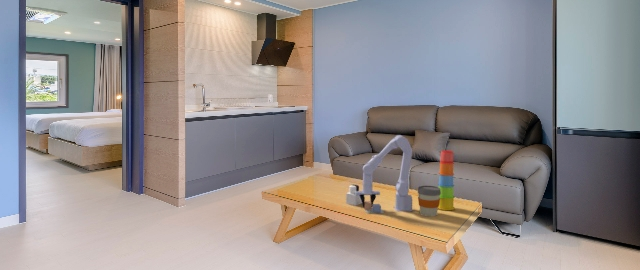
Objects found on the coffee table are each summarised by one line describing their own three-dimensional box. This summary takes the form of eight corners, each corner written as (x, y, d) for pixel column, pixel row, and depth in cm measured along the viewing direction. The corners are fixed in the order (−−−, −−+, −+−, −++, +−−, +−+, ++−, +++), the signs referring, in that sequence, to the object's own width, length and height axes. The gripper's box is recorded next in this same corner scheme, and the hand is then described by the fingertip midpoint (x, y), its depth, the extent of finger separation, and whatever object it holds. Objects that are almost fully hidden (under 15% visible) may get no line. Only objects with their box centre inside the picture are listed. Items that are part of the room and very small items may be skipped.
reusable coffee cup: (413, 211, 213) (413, 186, 212) (432, 209, 216) (433, 184, 215) (424, 218, 201) (424, 191, 199) (444, 216, 204) (445, 190, 202)
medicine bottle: (352, 201, 233) (352, 183, 232) (361, 203, 229) (362, 184, 227) (346, 204, 228) (346, 185, 226) (355, 206, 223) (355, 187, 222)
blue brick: (379, 210, 213) (379, 203, 213) (380, 212, 209) (380, 206, 209) (372, 210, 213) (372, 204, 212) (374, 213, 209) (374, 206, 208)
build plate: (379, 208, 219) (379, 207, 219) (384, 213, 209) (384, 212, 209) (363, 208, 219) (363, 207, 218) (367, 213, 209) (367, 213, 209)
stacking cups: (433, 207, 220) (434, 151, 216) (443, 204, 226) (444, 149, 222) (448, 212, 211) (450, 153, 208) (458, 208, 218) (460, 151, 214)
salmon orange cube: (369, 207, 219) (370, 201, 219) (371, 209, 215) (371, 202, 215) (363, 207, 219) (363, 201, 219) (364, 209, 215) (364, 203, 215)
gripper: (378, 182, 220) (377, 204, 222) (354, 183, 219) (354, 205, 220) (381, 185, 213) (380, 208, 215) (356, 186, 212) (356, 208, 213)
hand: (367, 206), depth 217 cm, fingers closed on salmon orange cube, 4 cm apart
